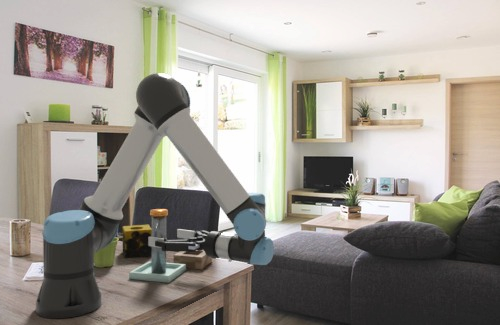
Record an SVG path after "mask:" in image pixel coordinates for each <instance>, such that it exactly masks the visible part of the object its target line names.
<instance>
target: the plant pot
mask: <svg viewBox="0 0 500 325" xmlns="http://www.w3.org/2000/svg"><path fill="white" fill-rule="evenodd" d="M119 240H120V239H119V237H117V236H115V238H114V240H113V241H112V242H111V243H110V244H109V245H108V246H106V247H105V248H103V249H100V250H99V251H97V252H96V253H94V267H95V268H105V267H112V266H114V264H115V258H116V257H115V256H116V250H117V245H118V241H119Z"/></svg>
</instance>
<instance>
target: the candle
mask: <svg viewBox="0 0 500 325" xmlns="http://www.w3.org/2000/svg"><path fill="white" fill-rule="evenodd" d="M148 237H152V226H150V224H135V225H124V226H122V253H123V256H124V258H125V259H129V257H131V258H140V256H143V257H150V256H151V257H152V246H148Z"/></svg>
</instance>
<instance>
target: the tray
mask: <svg viewBox="0 0 500 325" xmlns="http://www.w3.org/2000/svg"><path fill="white" fill-rule="evenodd" d="M186 271H187V268H186V264H177V263H174V262H166V272H165V273H163V274H154V273H152V260H149V261H147V262H145V263H144V264H142V265H140V266H138V267H136V268H135V269H132V270H131V271H129V273H128V274H129V275H128V276H129V279H130V280H131V279H132V280H138V281H140V280H141V281H147V282H148V281H150V282H156V283H157V282H158V283H160V282H161V283H170V282H172V281H174V280H175V279H177V277H179V276H180V275H182V274H183V273H185V272H186Z"/></svg>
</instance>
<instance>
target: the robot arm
mask: <svg viewBox="0 0 500 325" xmlns="http://www.w3.org/2000/svg"><path fill="white" fill-rule="evenodd" d="M135 95H136V96H135V97H136V98H135V99H136V102H137V107H136V109H135V111H134V113H133V115H134V118H135V122H134V124H133V126H132V127H131V129H130V131H129V132H128V135H127V136H126V137H125V140H124V141H123V143H122V144H121V146H120V148H119V150H118V152H117V154H116V156H114V159H113V160H112V162H111V163H110V166H109V167H108V169H107V171H106V172H105V174H104V175H103V178H102V179H101V180H100V183H99V185H98V186H97V188H96V190H95V192H94V194H92V195H89V196H86V197H85V198H84V199H83V201H82V203H81V205H80V207H79V208H78V209H72V210H65V211H64V210H63V211H59V212H56V213H55V212H54V213H53V214H50V215H49V216H47V217H46V218H45V220H44V222H43V228H42V232H41V233H42V248H43V249H42V250H43V251H42V253H43V255H42V256H43V265H42V266H43V279H42V283H41V286H40V289H39V292H38V295H37V298H36V301H35V313H36V314H37V315H38V316H40V317H42V318H46V319H48V318H49V319H67V318H68V319H69V318H75V317H79V316H83V315H87V314H90V313H92V312H94V311H96V310H98V309H99V308H100V307H101V305H102V292H101V291H100V287H99V285H98V282H97V279H96V275H95V265H94V253H96V252H97V251H99V250H100V249H103V248H105V247H106V246H108V245H109V244H110V243H111V242H112V241H113V240H114V238H115V237H117V234H118V232H119V225H120V224H121V222H122V220H123V218H124V214H123V210H122V209H123V207H124V206H125V205H126V202H127V201H128V199H129V198H130V195H131V194H132V192H133V190H134V188H135V187H136V185H137V184H138V181H139V180H140V179H141V176H142V175H143V173H144V172H145V169H146V168H147V166H148V164H149V163H150V162H151V159H152V158H153V156H154V154H155V153H156V151H157V149H158V147H159V145H161V142H162V140H163V139H164V138H165V137H167V138H168V139H169V141H170V143H172V146H174V147H175V149H176V150H177V151H178V153H179V154H180V155H181V157H182V159H184V161H185V162H186V163H187V165H188V166H189V167H190V168H191V170H192V171H193V172H194V174H195V176H196V177H197V178H198V179H199V181H200V182H201V184H202V185H203V186H204V187H205V189H206V190H207V192H208V193H209V194H210V195H211V196H212V198H213V199H214V201H215V202H216V203H217V204H218V206H219V207H220V209H221V210H222V211H223V213H224V214H225V215H226V217H227V218H228V220H229V221H230V223H232V226H233V228H234V232H235V233H233V232H223V231H218V230H217V231H215V230H212V231H210V232H209V231H207V230H204V229H202V230H201V229H200V231H199V230H196V231H195V230H190V229H189V230H188V229H181V228H177V229H176V234H177V235H176V236H177V238H178V239H167V237H166V238H157V237H148V246H152V247H158V248H162V251H166V252H180V251H184V252H196V250H198V251H202V250H204V251H205V253H206V255H207V256H208V257H212V259H221V260H228V262H229V263H231V262H235V261H236V262H240V263H243V264H244V263H246V264H250V265H258V266H267V265H268V264H269V263H270V262H272V259H273V257H274V253H275V245H274V241H273V240H272V239H271V238H269V237H267V236H266V230H265V229H266V226H267V220H266V205H267V204H266V196H265V194H263V193H259V192H247V190H246V189H245V188H244V186H243V185H242V183H241V182H240V181H239V179H238V178H237V176H235V174H234V173H233V172H232V170H231V169H230V168H229V166H228V165H227V163H226V162H225V161H224V159H223V158H222V157H221V155H220V153H218V151H217V150H216V149H215V147H214V146H213V145H212V143H211V142H210V141H209V139H208V137H207V136H206V135H205V134H204V132H203V131H202V129H201V128H200V127H199V126H198V124H197V123H196V122H195V120H194V119H193V118H192V116H191V97H190V95H189V91H188V89H186V87H185V86H184V85H183V84H182V83H181V82H179V81H178V80H176V79H175V78H174V77H172V76H170V75H168V74H165V73H162V72H161V73H160V72H157V73H156V72H154V73H151V74H149V75H147V76H145V77H144V78H143V79H142V80H141V81H140V82H139V83H138V85H137V88H136V92H135Z"/></svg>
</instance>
